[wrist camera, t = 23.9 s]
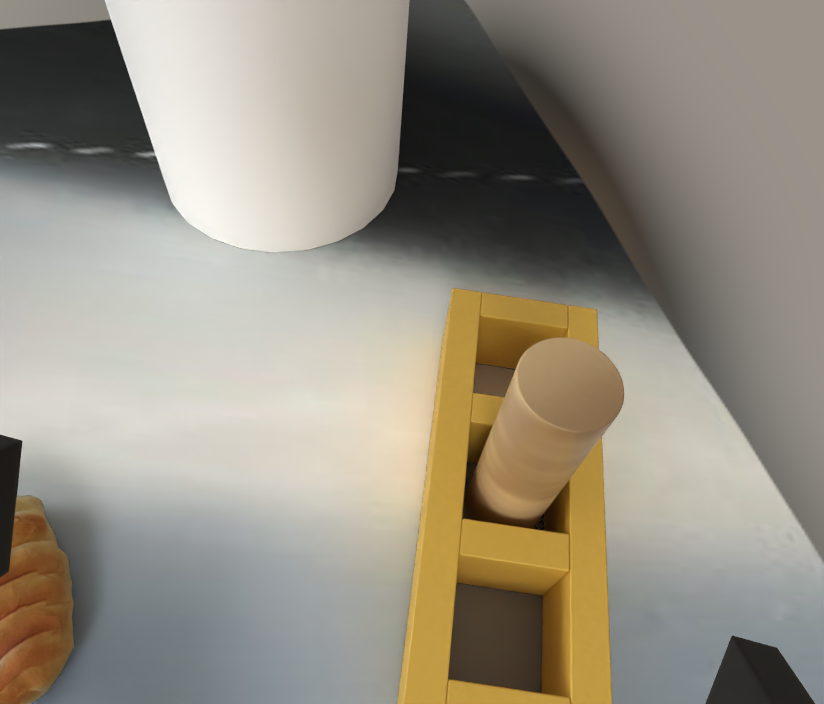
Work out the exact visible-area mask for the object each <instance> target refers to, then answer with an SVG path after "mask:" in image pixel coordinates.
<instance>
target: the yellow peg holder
mask: <svg viewBox="0 0 824 704" xmlns="http://www.w3.org/2000/svg"><path fill="white" fill-rule="evenodd" d="M551 338H571V339H576V340H580V341H583V342H585V343H588V344H590V345H592V346H594V347H595V348H597V349H598V350H599V348H598V322H597V309H591V308H585V307H578V306H571V305H569V306H567V305H564V304H557V303H550V302H543V301H537V300H530V299H523V298H516V297H510V296H503V295H496V294H489V293H481V292H477V291H470V290H463V289H457V288H453V289H452V294H451V299H450V304H449V309H448V314H447V319H446V324H445V329H444V334H443V340H442V348H441V356H440V364H439V372H438V380H437V388H436V396H435V404H434V412H433V420H432V429H431V437H430V445H429V453H428V461H427V469H426V477H425V485H424V493H423V501H422V509H421V517H420V525H419V533H418V541H417V549H416V558H415V566H414V574H413V582H412V590H411V598H410V606H409V614H408V622H407V630H406V638H405V646H404V654H403V662H402V670H401V678H400V686H399V695H398V703H397V704H612V688H611V662H610V636H609V609H608V583H607V557H606V531H605V505H604V479H603V453H602V437H601V438H600V439H599V441H598V442H597V443H596V445H595V446H594V447H593V449H592V450H591V451H590V453H589V454H588V455H587V457H586V458H585V459H584V461H583V462H582V463H581V465H580V466H579V467H578V469H577V470H576V471H575V473H574V474H573V475H572V477H571V478H570V479H569V481H568V482H567V483H566V485H565V486H564V487H563V489H562V490H561V491H560V493H559V494H558V495H557V497H556V498H555V499H554V501H553V502H552V503H551V505H550V506H549V507H548V509H547V510H546V511H545V513H544V531H543V530H536V529H530V528H523V527H516V526H510V525H503V524H496V523H490V522H483V521H476V520H470V519H462V514H463V502H464V491H465V479H466V468H467V462H471V463H478V461H479V459H480V456H481V454H482V451H483V449H484V446H485V444H486V441H487V439H488V436H489V434H490V432H491V429H492V427H493V424H494V422H495V419H496V417H497V414H498V412H499V409H500V407H501V404H502V402H503V399H504V397H499V396H492V395H485V394H478V393H473V388H474V376H475V365H476V363H480V364H486V365H493V366H500V367H507V368H513V369H516V367H517V365H518V362H519V360H520V358H521V357H522V355H523V354H524V353H525V352H526V350H528V349H529V348H530V347H531V346H533V345H534V344H536V343H538V342H540V341H543V340H546V339H551ZM456 583H463V584H469V585H476V586H482V587H489V588H496V589H502V590H509V591H515V592H522V593H529V594H535V595H543V636H542V693H537V692H530V691H524V690H517V689H511V688H504V687H498V686H491V685H485V684H478V683H471V682H465V681H458V680H452V679H449V680H448V674H449V662H450V651H451V639H452V628H453V617H454V605H455V594H456Z"/></svg>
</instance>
